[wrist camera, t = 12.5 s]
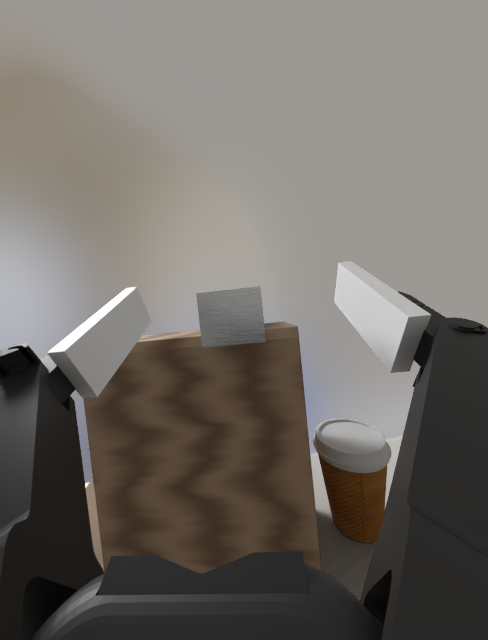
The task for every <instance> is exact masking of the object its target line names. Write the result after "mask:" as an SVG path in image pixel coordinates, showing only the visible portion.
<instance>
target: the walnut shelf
mask: <svg viewBox="0 0 488 640" xmlns="http://www.w3.org/2000/svg"><path fill="white" fill-rule="evenodd" d="M264 329H265V339H266V342H260V343H249V344H238V345H228V346H217V347H206V348H202V340H201V331H200V330H195V331H184V332H175V333H164V334H154V335H144V336H141V337H140V339H139V340H138V341H137V343H136V344H135V346H134V347H133V348H132V350H131V351H130V353H129V354H128V355H127V357H126V358H125V360H124V361H123V362H122V364H121V365H120V366H119V368H118V369H117V371H116V372H115V373H114V375H113V376H112V378H111V379H110V380H109V382H108V383H107V385H106V386H105V387H104V389H103V390H102V392H101V393H100V394H99V396H98V397H89V398H84V406H85V415H86V423H87V431H88V440H89V447H90V457H91V465H92V473H93V482H94V490H95V499H96V507H97V515H98V524H99V532H100V540H101V549H102V557H103V566H104V573H105V572H106V569H107V566H108V563H109V561H110V558H111V556H132V555H157V556H160V557H162V558H164V559H167V560H169V561H171V562H174V563H176V564H178V565H181V566H183V567H185V568H188V569H190V570H192V571H195V572H197V573H205V572H208V571H210V570H213V569H215V568H218V567H220V566H222V565H225V564H227V563H229V562H232V561H234V560H236V559H239V558H241V557H244V556H246V555H248V554H251V553H253V552H288V551H303V557H304V563H306V564H308V565H311V566H313V567H316V568H318V569H319V570H321V561H320V551H319V541H318V530H317V520H316V510H315V499H314V489H313V478H312V468H311V458H310V447H309V437H308V427H307V417H306V406H305V396H304V386H303V375H302V365H301V354H300V344H299V333H298V327H297V326H294V325H292V324H289V323H286V322H276V323H266V324H264Z"/></svg>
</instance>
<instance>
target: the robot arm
mask: <svg viewBox="0 0 488 640" xmlns="http://www.w3.org/2000/svg"><path fill="white" fill-rule="evenodd" d="M334 302H335V303H336V305H337V306H338V307H339V309H340V310H341V311H342V312H343V314H344V315H345V316H346V317H347V319H348V320H349V321H350V322H351V324H352V325H353V326H354V327H355V329H356V330H357V331H358V332H359V333H360V335H361V336H362V338H363V339H364V340H365V341H366V342H367V344H368V345H369V346H370V348H371V349H372V350H373V351H374V353H375V354H376V355H377V356H378V357H379V359H380V360H381V361H382V363H383V364H384V365H385V366H386V368H387V369H388V370H389V371H390V373H393V372H405V371H410V369H411V366H412V363H413V361H414V360H415V361H416V362H417V363H418V364H419V365H420V366H421V368H420V370H419V372H418V375H417V377H416V379H415V382H414V384H413V387H415V388H414V392H413V396H412V401H411V405H410V409H409V413H408V417H407V422H406V426H405V430H404V434H403V438H402V442H401V446H400V451H399V455H398V459H397V463H396V467H395V472H394V476H393V480H392V484H391V488H390V492H389V497H388V501H387V505H386V509H385V513H384V518H383V522H382V526H381V530H380V534H379V538H378V542H377V546H376V549H375V552H374V555H373V557H372V560H371V563H370V566H369V570H368V573H367V577H366V580H365V584H364V588H363V592H362V597H361V601H359V600H358V599H357V598H356V597H355V596H354V595H353V594H352V593H351V592H349V591H348V590H347V589H346V588H345V587H344V586H343V585H342V584H341V583H339V582H338V581H336V580H335V579H334V578H332V577H331V576H330V575H328V574H326V573H325V572H323V571H321V570H319V569H318V568H316V567H313V566H311V565H308V564H306V563H304V557H303V551H288V552H253V553H251V554H248V555H246V556H244V557H241V558H239V559H236V560H234V561H232V562H229V563H227V564H225V565H222V566H220V567H218V568H215V569H213V570H210V571H208V572H205V573H197V572H195V571H192V570H190V569H188V568H185V567H183V566H181V565H178V564H176V563H174V562H171V561H169V560H167V559H164V558H162V557H160V556H157V555H132V556H111V558H110V561H109V563H108V566H107V569H106V572H105V573H104V571H103V569H102V567H101V565H100V563H99V562H98V560H97V558H96V556H95V553H94V549H93V543H92V535H91V527H90V520H89V512H88V504H87V496H86V488H85V481H84V473H83V465H82V458H81V449H80V442H79V434H78V426H77V418H76V411H75V403H74V400H73V399H72V398H71V396H70V395H71V394H72V392H73V391H74V390H75V389H76V391H77V392H78V393H79V394H80V396H81V397H82V398H89V397H98V396H99V394H100V393H101V392H102V390H103V389H104V387H105V386H106V385H107V383H108V382H109V380H110V379H111V378H112V376H113V375H114V373H115V372H116V371H117V369H118V368H119V366H120V365H121V364H122V362H123V361H124V360H125V358H126V357H127V355H128V354H129V353H130V351H131V350H132V348H133V347H134V346H135V344H136V343H137V341H138V340H139V339H140V337H141V336H142V334H143V333H144V332H145V330H146V329H147V327H148V326H149V325H150V323H151V319H150V316H149V314H148V312H147V309H146V307H145V304H144V302H143V300H142V297H141V295H140V293H139V290H138V288H137V287H132V288H126V289H125V290H123V291H122V292H121V293H120V294H118V295H117V296H116V297H115V298H114V299H112V300H111V301H110V302H109V303H107V304H106V305H105V306H104V307H103V308H101V309H100V310H99V311H98V312H96V313H95V314H94V315H93V316H91V317H90V318H89V319H88V320H87V321H85V322H84V323H83V324H82V325H80V326H79V327H78V328H77V329H76V330H74V331H73V332H72V333H71V334H70V335H68V336H67V337H66V338H65V339H63V340H62V341H61V342H60V343H58V344H57V345H56V346H55V347H53V348H52V349H51V350H50V351H49V352H47V355H46V356H45V357H43V358H42V359H41V360H40V359H39V358H38V357H37V355H36V354H35V353H34V352H33V351H32V350H31V348H30V347H29V346H28V345H27V344H17V345H14V346H11V347H8V348H5V349H3V350H0V640H488V328H487V327H485V326H484V325H482V324H480V323H477V322H475V321H471V320H467V319H462V318H445V317H444V316H442V315H441V314H439V313H438V312H436V311H434V310H433V309H431V308H430V307H428V306H425V304H423V303H422V302H419V301H418V300H417V299H415V298H414V297H412V296H410V295H408V294H405V293H402V292H396V291H395V290H394V289H392V288H390V287H389V286H387V285H386V284H384V283H383V282H382V281H380V280H379V279H377V278H375V277H374V276H373V275H371V274H370V273H368V272H367V271H365V270H363V269H362V268H361V267H359V266H358V265H356V264H355V263H353V262H352V261H349V262H341V263H339V264H338V273H337V282H336V291H335V300H334Z"/></svg>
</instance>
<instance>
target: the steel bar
mask: <svg viewBox="0 0 488 640" xmlns="http://www.w3.org/2000/svg"><path fill="white" fill-rule="evenodd" d="M197 303H198V312H199V321H200V331H201V340H202V348H206V347H217V346H228V345H238V344H249V343H260V342H266V339H265V329H264V319H263V309H262V299H261V289H260V287H251V288H242V289H233V290H224V291H215V292H206V293H197Z"/></svg>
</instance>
